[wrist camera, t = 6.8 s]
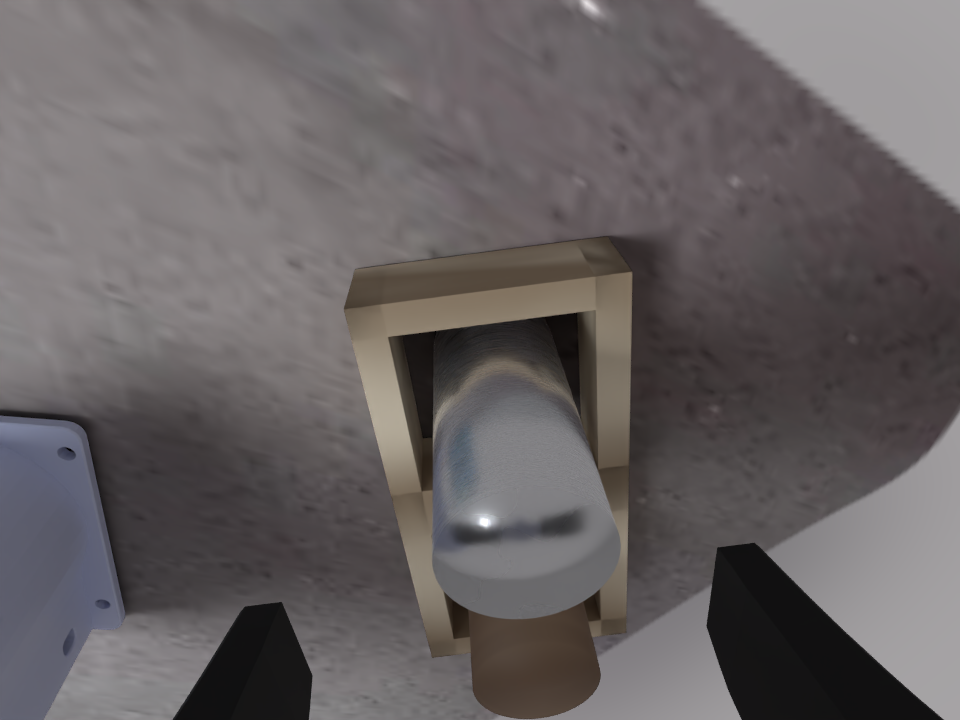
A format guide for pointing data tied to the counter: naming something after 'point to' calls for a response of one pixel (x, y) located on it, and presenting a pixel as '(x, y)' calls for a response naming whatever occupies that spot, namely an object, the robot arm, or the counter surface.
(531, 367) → the grey peg
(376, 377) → the socket block
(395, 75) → the counter surface
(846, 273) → the counter surface
